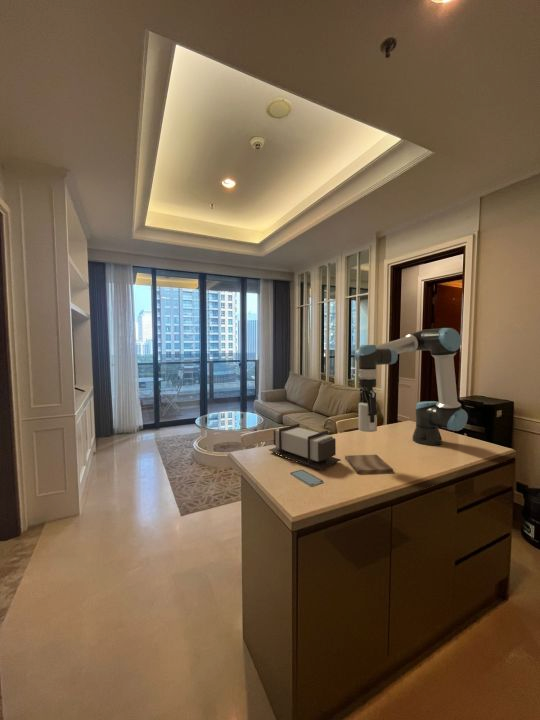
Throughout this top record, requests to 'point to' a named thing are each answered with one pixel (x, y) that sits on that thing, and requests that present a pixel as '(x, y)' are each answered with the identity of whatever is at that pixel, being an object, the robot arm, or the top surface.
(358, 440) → the top surface
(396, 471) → the top surface
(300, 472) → the smartphone
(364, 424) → the beige cylinder
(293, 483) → the top surface
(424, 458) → the top surface
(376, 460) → the walnut board
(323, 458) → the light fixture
